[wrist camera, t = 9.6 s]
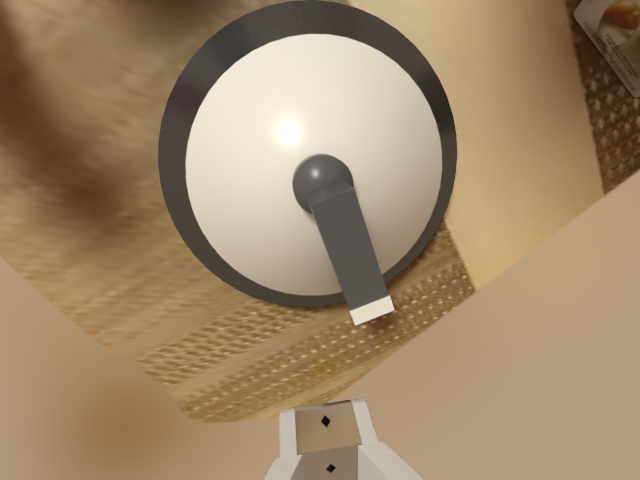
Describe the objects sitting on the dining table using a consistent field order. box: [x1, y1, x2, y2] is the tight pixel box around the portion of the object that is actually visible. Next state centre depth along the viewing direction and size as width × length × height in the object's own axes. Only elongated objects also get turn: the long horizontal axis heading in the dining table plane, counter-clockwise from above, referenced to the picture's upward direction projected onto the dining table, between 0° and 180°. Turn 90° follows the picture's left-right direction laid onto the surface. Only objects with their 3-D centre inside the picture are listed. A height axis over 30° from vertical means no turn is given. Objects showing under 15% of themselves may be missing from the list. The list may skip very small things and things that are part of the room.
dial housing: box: [158, 0, 457, 307], centre depth 22 cm, size 20×20×3 cm
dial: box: [186, 34, 442, 326], centre depth 18 cm, size 16×16×6 cm
